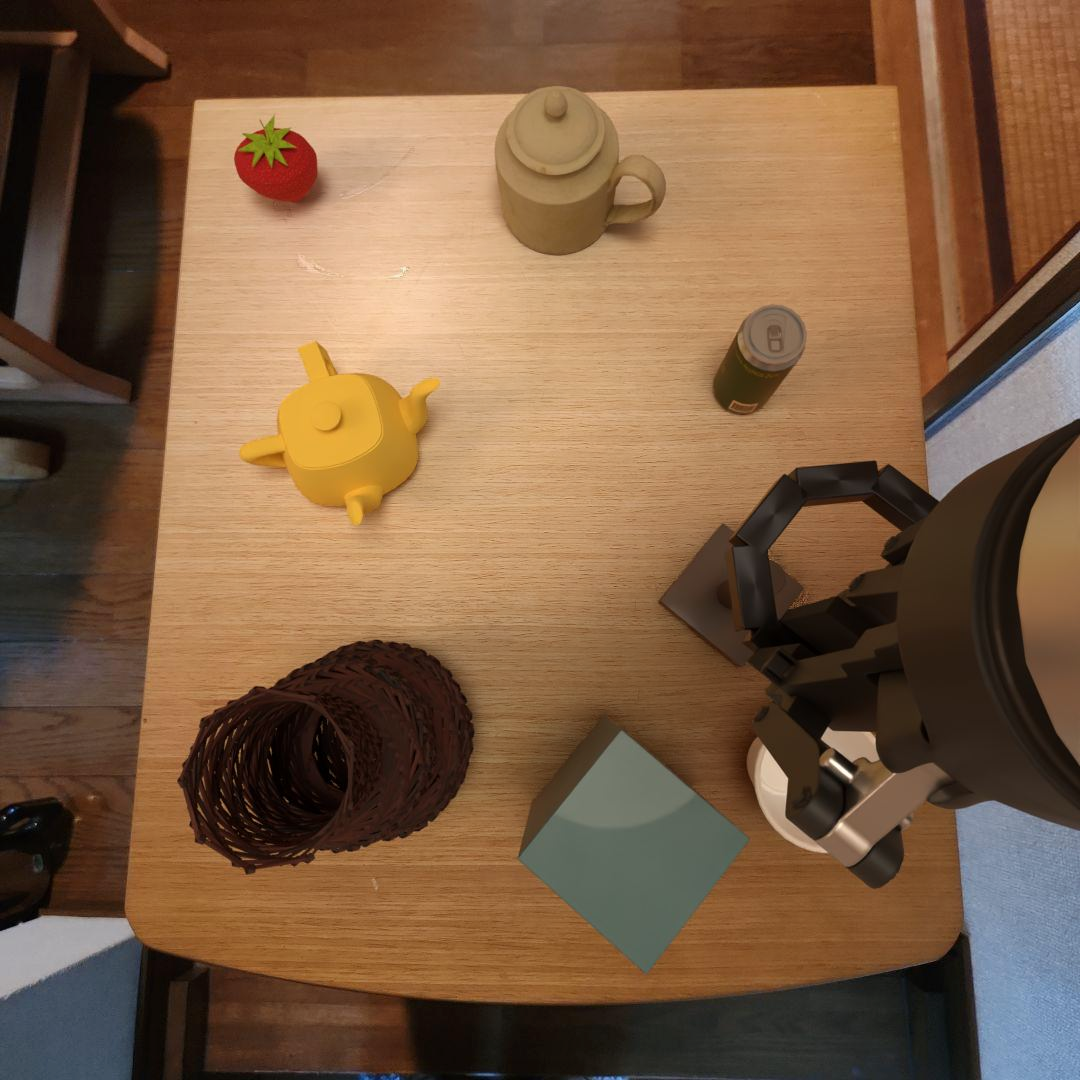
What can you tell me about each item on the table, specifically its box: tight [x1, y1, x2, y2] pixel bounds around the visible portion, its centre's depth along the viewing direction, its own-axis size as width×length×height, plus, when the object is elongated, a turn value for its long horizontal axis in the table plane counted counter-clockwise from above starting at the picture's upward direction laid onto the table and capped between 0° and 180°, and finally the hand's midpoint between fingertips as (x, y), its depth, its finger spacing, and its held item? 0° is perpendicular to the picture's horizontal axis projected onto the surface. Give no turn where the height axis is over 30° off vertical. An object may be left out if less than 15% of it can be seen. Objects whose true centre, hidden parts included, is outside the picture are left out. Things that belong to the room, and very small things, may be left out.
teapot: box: [238, 340, 441, 526], centre depth 68 cm, size 14×13×10 cm
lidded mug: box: [494, 85, 667, 256], centre depth 69 cm, size 15×11×15 cm
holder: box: [657, 523, 806, 669], centre depth 62 cm, size 9×9×14 cm
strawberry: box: [233, 114, 319, 203], centre depth 72 cm, size 6×8×10 cm
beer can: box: [712, 303, 808, 415], centre depth 66 cm, size 5×5×12 cm
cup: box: [746, 727, 879, 854], centre depth 61 cm, size 10×10×11 cm
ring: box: [725, 459, 941, 656], centre depth 36 cm, size 11×11×2 cm
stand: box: [517, 713, 751, 975], centre depth 57 cm, size 10×10×20 cm
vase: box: [176, 639, 475, 875], centre depth 53 cm, size 15×15×30 cm
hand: (792, 654), depth 35 cm, fingers closed on ring, 2 cm apart
